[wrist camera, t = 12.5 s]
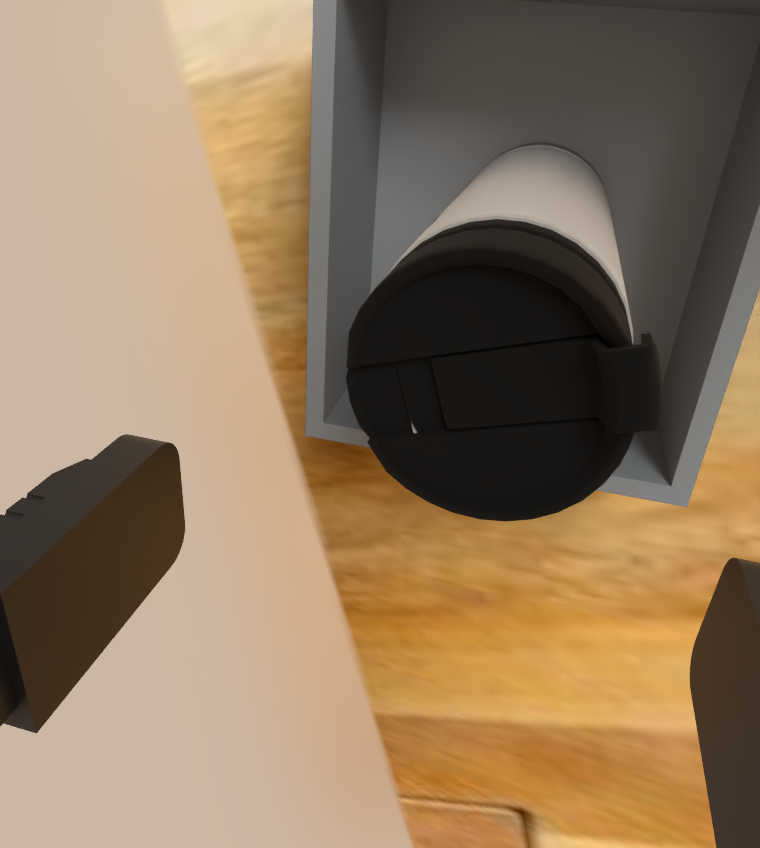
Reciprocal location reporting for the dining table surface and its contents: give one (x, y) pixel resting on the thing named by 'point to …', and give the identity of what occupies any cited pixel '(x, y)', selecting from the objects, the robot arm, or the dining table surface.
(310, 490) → the dining table surface
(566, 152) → the travel mug
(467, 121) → the crate
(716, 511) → the dining table surface
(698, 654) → the robot arm
